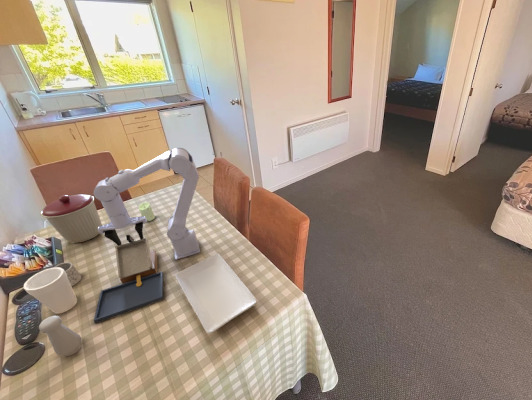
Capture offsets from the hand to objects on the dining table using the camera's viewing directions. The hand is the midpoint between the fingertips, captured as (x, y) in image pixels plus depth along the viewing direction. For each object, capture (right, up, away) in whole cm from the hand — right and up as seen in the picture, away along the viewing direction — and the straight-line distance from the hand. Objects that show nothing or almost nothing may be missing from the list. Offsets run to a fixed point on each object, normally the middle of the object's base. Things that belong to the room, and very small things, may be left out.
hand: (131, 242), depth 101 cm
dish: (+2, -5, -1) cm, 6 cm away
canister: (-36, -1, +21) cm, 42 cm away
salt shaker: (0, -27, -25) cm, 37 cm away
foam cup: (-14, -20, -12) cm, 27 cm away
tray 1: (+7, -17, -9) cm, 21 cm away
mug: (-22, -15, -4) cm, 27 cm away
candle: (-14, +10, +30) cm, 34 cm away
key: (+6, -13, -4) cm, 15 cm away
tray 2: (+35, -17, -8) cm, 40 cm away
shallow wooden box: (+2, -11, +2) cm, 11 cm away
